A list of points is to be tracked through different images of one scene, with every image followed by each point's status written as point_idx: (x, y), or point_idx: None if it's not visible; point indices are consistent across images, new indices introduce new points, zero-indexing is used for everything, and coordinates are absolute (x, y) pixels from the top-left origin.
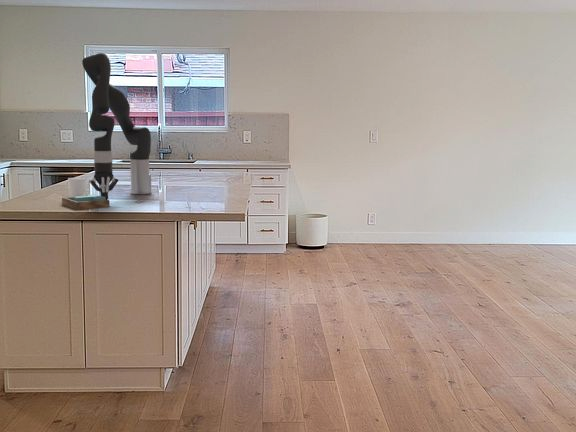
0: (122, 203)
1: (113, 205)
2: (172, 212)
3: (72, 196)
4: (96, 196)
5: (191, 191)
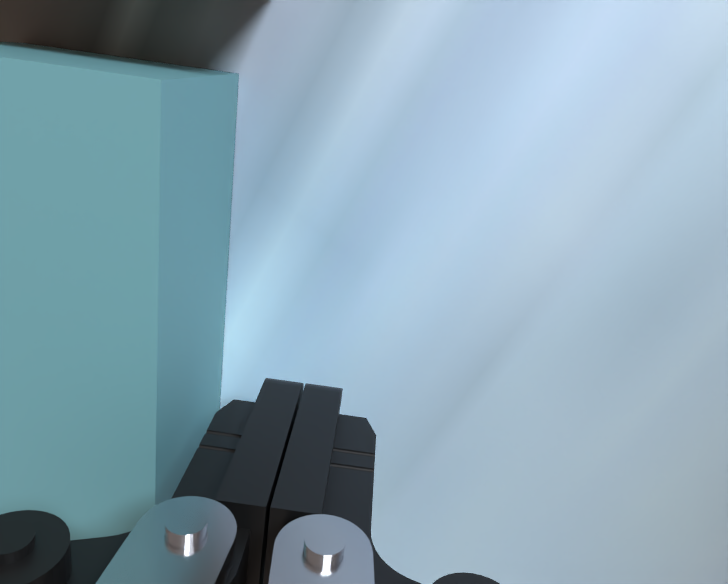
0: (638, 482)
1: None
2: None
3: None
4: None
5: None
